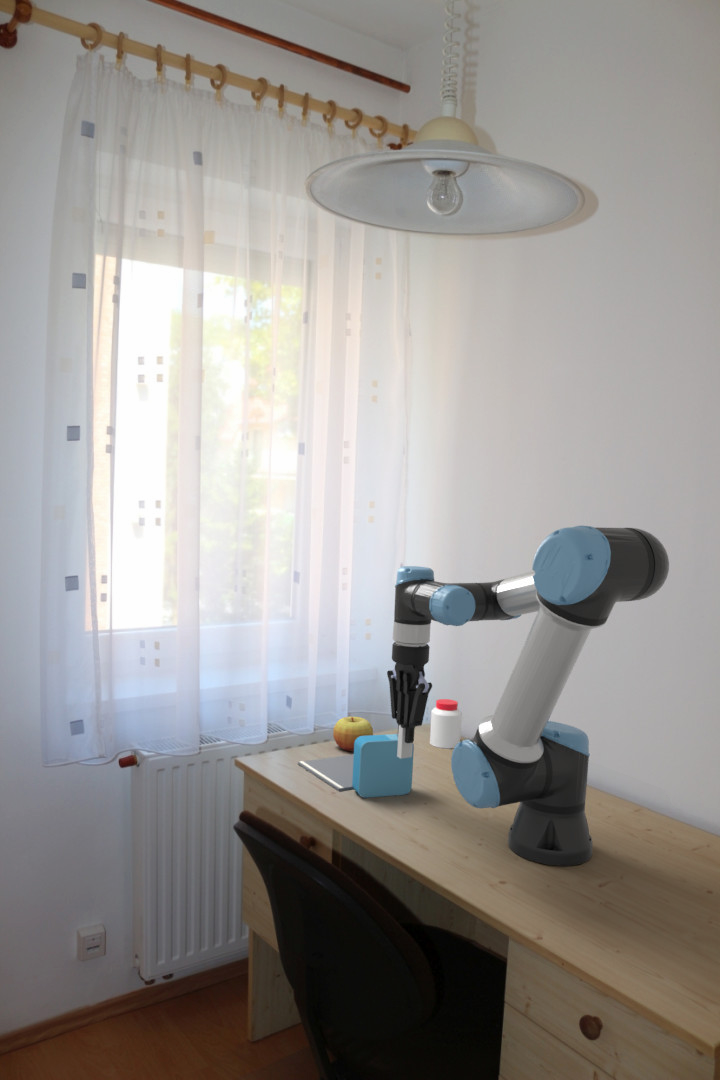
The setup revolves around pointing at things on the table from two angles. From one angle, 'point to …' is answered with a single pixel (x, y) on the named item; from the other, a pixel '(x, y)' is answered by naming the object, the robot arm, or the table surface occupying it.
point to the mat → (332, 770)
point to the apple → (350, 731)
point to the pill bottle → (445, 724)
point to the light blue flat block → (380, 767)
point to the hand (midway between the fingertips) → (404, 756)
